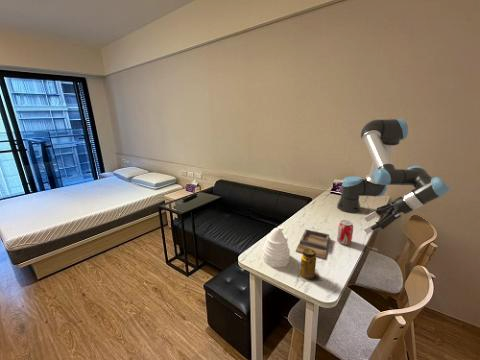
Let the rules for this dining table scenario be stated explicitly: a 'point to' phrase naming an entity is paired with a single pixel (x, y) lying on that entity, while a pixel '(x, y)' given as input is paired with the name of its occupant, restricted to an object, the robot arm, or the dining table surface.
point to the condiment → (309, 266)
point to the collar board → (314, 243)
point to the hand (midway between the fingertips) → (365, 225)
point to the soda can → (345, 232)
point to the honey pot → (276, 249)
